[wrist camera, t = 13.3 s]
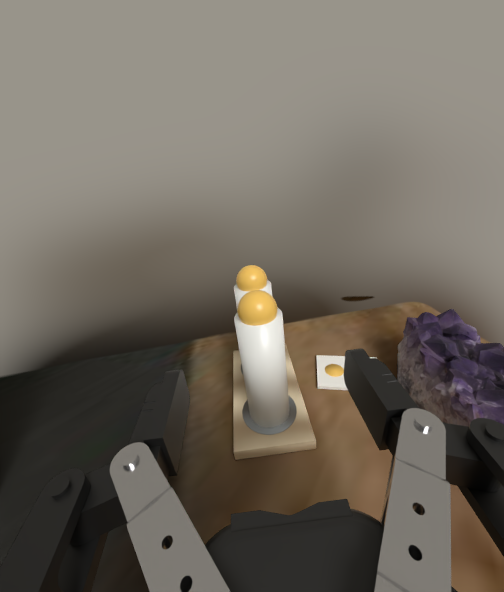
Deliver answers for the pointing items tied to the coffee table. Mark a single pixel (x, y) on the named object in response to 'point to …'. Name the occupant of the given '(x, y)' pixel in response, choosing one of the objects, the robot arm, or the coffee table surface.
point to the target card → (331, 372)
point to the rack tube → (251, 282)
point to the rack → (269, 440)
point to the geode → (451, 369)
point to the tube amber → (263, 358)
